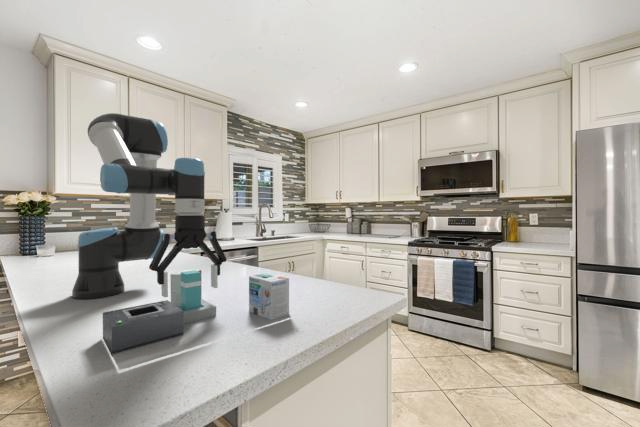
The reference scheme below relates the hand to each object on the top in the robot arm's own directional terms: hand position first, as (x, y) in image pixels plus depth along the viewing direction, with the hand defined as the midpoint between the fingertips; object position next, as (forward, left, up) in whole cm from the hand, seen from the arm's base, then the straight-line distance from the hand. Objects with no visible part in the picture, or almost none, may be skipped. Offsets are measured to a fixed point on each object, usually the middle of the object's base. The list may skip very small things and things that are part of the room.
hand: (190, 291), depth 83 cm
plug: (0, 0, -7) cm, 7 cm away
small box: (-12, +3, -7) cm, 14 cm away
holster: (0, 0, -7) cm, 7 cm away
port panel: (+6, -13, -7) cm, 16 cm away
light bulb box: (+13, +17, -7) cm, 23 cm away
